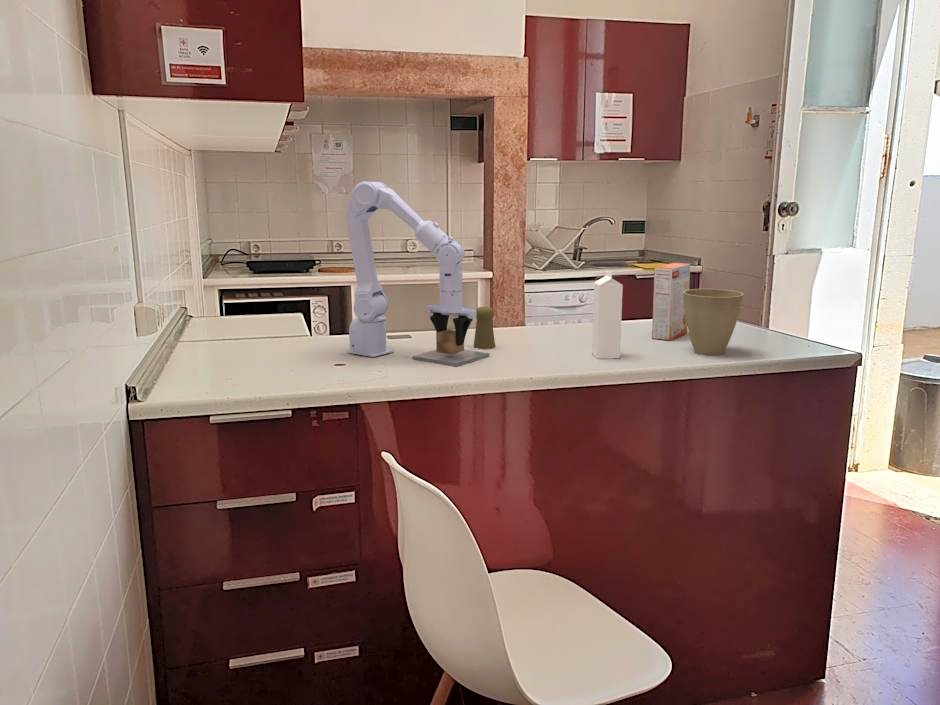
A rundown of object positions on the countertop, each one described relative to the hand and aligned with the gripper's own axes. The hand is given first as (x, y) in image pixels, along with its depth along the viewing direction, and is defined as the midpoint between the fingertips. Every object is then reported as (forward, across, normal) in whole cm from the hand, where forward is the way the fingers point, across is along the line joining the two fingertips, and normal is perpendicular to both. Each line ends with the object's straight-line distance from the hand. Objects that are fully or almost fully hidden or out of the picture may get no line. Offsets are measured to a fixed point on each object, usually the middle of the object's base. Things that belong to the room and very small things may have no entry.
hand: (451, 343), depth 192 cm
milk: (+4, +31, +25) cm, 40 cm away
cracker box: (+4, +34, +60) cm, 69 cm away
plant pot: (+4, +51, +45) cm, 68 cm away
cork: (+4, -1, +16) cm, 16 cm away
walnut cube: (+2, 0, 0) cm, 2 cm away
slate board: (+4, 0, 0) cm, 4 cm away
